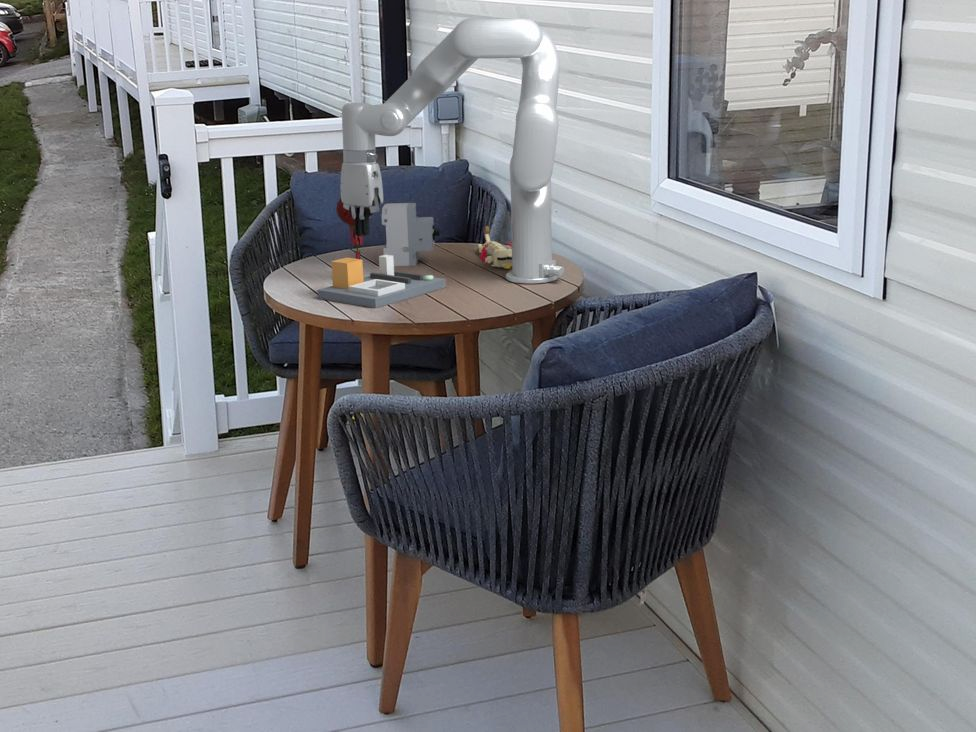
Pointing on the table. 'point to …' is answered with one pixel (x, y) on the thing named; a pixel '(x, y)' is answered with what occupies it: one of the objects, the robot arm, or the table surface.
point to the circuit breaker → (407, 233)
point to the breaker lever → (386, 264)
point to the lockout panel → (383, 289)
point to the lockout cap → (347, 272)
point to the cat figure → (495, 252)
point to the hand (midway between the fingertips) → (362, 235)
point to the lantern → (347, 218)
